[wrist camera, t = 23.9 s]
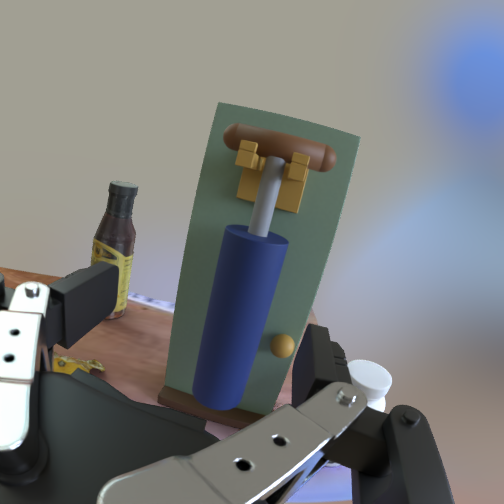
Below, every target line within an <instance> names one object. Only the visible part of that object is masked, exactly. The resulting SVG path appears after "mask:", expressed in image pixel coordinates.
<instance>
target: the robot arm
mask: <svg viewBox="0 0 504 504" xmlns="http://www.w3.org/2000/svg"><path fill="white" fill-rule="evenodd" d="M118 282H119V267H118V266H116V265H113V264H110V263H108V262H105V261H100V262H98V263H96V264H94V265H92V266H90V267H88V268H85V269H79V270H77V271H75V272H73V273H71V274H69V275H67V276H66V277H65V278H64V277H63V278H61V279H59V280H57V281H55V282H53V283H51V284H49V285H47V286H46V285H45V284H43V283H40V282H25V283H22V284H20V285H18V286H17V287H16V289H12V288H8V287H5V283H4V275H3V274H2V273H0V504H284V503H285V502H286V501H287V500H288V499H289V498H290V497H291V496H292V495H293V494H294V493H295V492H296V491H298V490H299V489H300V488H301V487H302V486H303V485H304V484H305V483H307V482H308V481H309V480H310V479H311V478H312V477H313V476H314V475H315V474H316V473H317V472H318V471H319V470H321V469H322V468H323V467H324V466H325V465H326V464H327V463H328V462H329V461H332V462H334V463H337V464H340V465H343V466H345V467H348V468H351V477H352V501H353V504H455V503H454V499H453V495H452V492H451V488H450V485H449V482H448V479H447V476H446V472H445V469H444V466H443V463H442V460H441V457H440V454H439V451H438V448H437V445H436V443H435V440H434V437H433V434H432V432H431V429H430V426H429V424H428V421H427V419H426V417H425V416H424V415H423V414H422V413H421V412H420V411H419V410H417V409H415V408H413V407H411V406H407V405H398V406H395V407H394V408H393V409H392V410H391V412H390V413H389V414H386V413H383V412H381V411H378V410H375V409H373V408H370V407H369V406H367V402H368V401H367V398H366V396H365V394H364V393H363V392H362V391H361V390H360V389H358V388H357V387H355V386H353V384H352V380H351V376H350V372H349V368H348V367H347V366H348V364H347V361H346V357H345V353H344V350H343V349H342V348H341V347H340V345H339V344H338V343H337V342H333V341H330V336H329V331H328V328H326V327H322V326H318V325H314V324H308V326H307V328H306V331H305V334H304V336H303V339H302V341H301V344H300V347H299V349H298V352H297V354H296V357H295V360H294V364H293V370H292V405H290V404H285V405H283V406H281V407H280V408H278V409H276V410H275V411H273V412H271V413H270V414H268V415H266V416H265V417H263V418H261V419H260V420H258V421H256V422H254V423H253V424H251V425H249V426H247V427H245V428H244V429H242V430H240V431H238V432H236V433H234V434H233V435H231V436H229V437H227V438H225V439H223V440H219V439H218V438H217V437H215V436H214V435H212V434H210V433H209V432H207V431H205V426H206V422H207V420H205V419H201V418H198V417H195V416H192V415H189V414H186V413H183V412H180V411H177V410H174V409H172V408H166V407H160V406H155V405H150V404H145V403H140V402H136V401H133V400H131V399H129V398H128V397H126V396H125V395H124V394H122V393H121V392H119V391H118V390H117V389H115V388H114V387H113V386H111V385H110V384H109V383H107V382H106V381H104V380H102V379H100V378H98V377H96V376H94V375H92V374H90V373H88V372H86V371H84V370H82V369H80V368H77V369H76V370H75V371H74V372H73V373H72V374H71V375H70V374H66V373H62V372H54V345H55V344H58V345H60V346H62V347H64V348H66V349H69V348H70V347H71V346H72V345H73V344H75V343H76V342H77V341H78V340H79V339H81V338H82V337H83V336H84V335H85V334H87V333H88V332H89V331H90V330H91V329H93V328H94V327H95V326H96V325H98V324H99V323H100V322H101V321H103V320H104V319H105V318H106V317H107V316H109V315H110V314H111V313H112V312H113V311H114V309H115V307H116V304H117V296H118Z"/></svg>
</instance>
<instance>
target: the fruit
mask: <svg viewBox="0 0 504 504" xmlns="http://www.w3.org/2000/svg"><path fill="white" fill-rule="evenodd" d="M77 368H80V369H82V370H84V371H86V372H88V373H89V372H90V370H91V369H92V368H97V369H99V370H101V372H103V371H104V370H105V368H104V366H103V365H102V364H100V363H99V362H98V361H96V360H95V359H94V360H89V361H88V360H87V361H81V360H80V359H79V358H78V360H77V359H75V358H72V357H66V356H58V355H57V353H56V352H54V372H62V373H66V374H70V375H71V374H72V373H73V372H74V371H75V370H76V369H77Z"/></svg>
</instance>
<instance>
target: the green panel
mask: <svg viewBox="0 0 504 504" xmlns="http://www.w3.org/2000/svg"><path fill="white" fill-rule="evenodd" d="M234 123H241V124H246V125H251V126H256V127H260V128H265V129H269V130H273V131H278V132H282V133H286V134H290V135H294V136H298V137H301V138H305V139H309V140H313V141H316V142H320V143H323V144H326V145H329V146H330V147H332V148H333V150H334V151H335V153H336V159H337V160H336V164H335V166H334V167H333V168H332V169H331V170H330V171H327V172H318V171H314V170H311V169H307V166H308V163H309V159H310V156H307V155H303V154H300V153H296V152H294V153H293V157H292V162H291V164H288V163H286V165H285V169H284V173H283V177H282V181H281V185H280V188H279V192H278V196H277V200H276V204H275V208H274V212H273V216H272V219H271V223H270V227H269V231H270V232H273V233H275V234H278V235H280V236H282V237H284V238H285V239H287V240H288V242H289V244H288V248H287V251H286V255H285V259H284V262H283V266H282V269H281V273H280V276H279V279H278V283H277V286H276V290H275V293H274V297H273V300H272V303H271V307H270V310H269V313H268V317H267V320H266V323H265V327H264V330H263V333H262V336H261V340H260V343H259V346H258V349H257V353H256V356H255V359H254V362H253V365H252V368H251V372H250V375H249V378H248V381H247V384H246V387H245V390H244V393H243V396H242V399H241V402H240V403H239V404H238V405H237V406H236V407H234V408H232V409H229V410H214V409H211V408H208V407H206V406H204V405H202V404H201V403H199V402H198V401H197V400H196V399H195V397H194V395H193V393H192V386H193V380H194V375H195V370H196V364H197V359H198V354H199V349H200V344H201V339H202V334H203V329H204V324H205V319H206V314H207V309H208V304H209V299H210V295H211V290H212V285H213V281H214V276H215V271H216V267H217V262H218V258H219V253H220V249H221V244H222V240H223V235H224V231H225V227H226V226H227V225H245V226H249V224H250V220H251V216H252V212H253V208H254V204H255V200H256V196H257V192H258V188H259V184H260V180H261V176H262V172H263V168H264V164H265V160H266V158H265V157H260V156H258V155H257V154H256V151H257V147H258V144H257V143H255V142H251V141H246V140H241V142H240V146H239V150H238V151H234V150H231V149H229V148H228V147H227V146H226V145H225V143H224V141H223V134H224V131H225V129H226V128H227V127H228V126H229V125H231V124H234ZM360 138H361V137H359V136H356V135H353V134H349V133H346V132H343V131H340V130H337V129H333V128H330V127H327V126H323V125H319V124H316V123H312V122H309V121H304V120H301V119H297V118H293V117H289V116H285V115H281V114H276V113H272V112H267V111H263V110H258V109H253V108H248V107H242V106H237V105H231V104H226V103H220V102H219V103H218V106H217V109H216V113H215V117H214V121H213V125H212V128H211V132H210V136H209V140H208V144H207V148H206V152H205V157H204V161H203V165H202V169H201V173H200V178H199V182H198V187H197V191H196V196H195V201H194V206H193V210H192V215H191V220H190V225H189V230H188V235H187V240H186V245H185V251H184V256H183V262H182V267H181V273H180V279H179V285H178V291H177V297H176V303H175V310H174V316H173V323H172V330H171V337H170V345H169V352H168V360H167V369H166V377H165V385H164V387H163V389H162V390H161V392H160V393H159V395H158V403H160V404H163V405H166V406H168V407H171V408H174V409H177V410H180V411H183V412H185V413H188V414H191V415H195V416H198V417H201V418H204V419H207V420H211V421H214V422H217V423H221V424H225V425H228V426H232V427H236V428H240V429H244V428H245V427H247V426H249V425H251V424H253V423H254V422H256V421H258V420H260V419H261V418H263V417H265V416H266V415H268V414H270V413H271V412H272V409H273V407H274V404H275V402H276V400H277V397H278V395H279V392H280V390H281V388H282V385H283V383H284V380H285V378H286V375H287V373H288V370H289V368H290V365H291V362H292V360H293V357H294V355H295V352H296V349H297V347H298V344H299V341H300V339H301V336H302V333H303V330H304V328H305V325H306V322H307V319H308V316H309V314H310V311H311V308H312V305H313V302H314V299H315V296H316V293H317V290H318V287H319V284H320V281H321V278H322V275H323V272H324V269H325V266H326V263H327V259H328V256H329V253H330V250H331V247H332V243H333V240H334V236H335V233H336V230H337V226H338V223H339V219H340V216H341V212H342V209H343V206H344V202H345V198H346V195H347V191H348V187H349V183H350V179H351V176H352V172H353V168H354V164H355V159H356V155H357V151H358V147H359V143H360Z"/></svg>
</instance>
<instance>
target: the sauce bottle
mask: <svg viewBox="0 0 504 504" xmlns="http://www.w3.org/2000/svg"><path fill="white" fill-rule="evenodd" d="M137 191H138V186H137V185H135V184H132V183H127V182H121V181H112V182H111V183H110V186H109V198H108V203H107V208H106V212H105V214H104V216H103V218H102V220H101V223H100V225H99V227H98V229H97V232H96V234H95V236H94V240H93V248H92V257H91V266H92V265H94V264H96V263H98V262H100V261H105V262H108V263H110V264H113V265H116V266H118V267H119V282H118V296H117V304H116V307H115V309H114V311H113V312H112V313H111V314H110V315H109V316H107V317H106V318H105V319H109V320H110V319H115V318H118V317H121V316H122V315H123V314H124V312H125V309H126V305H127V297H128V289H129V281H130V273H131V267H132V260H133V253H134V252H133V249H134V243H135V235H136V232H135V229H134V226H133V224H132V219H131V218H132V217H131V215H132V209H133V204H134V198H135V197H136V195H137Z"/></svg>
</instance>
